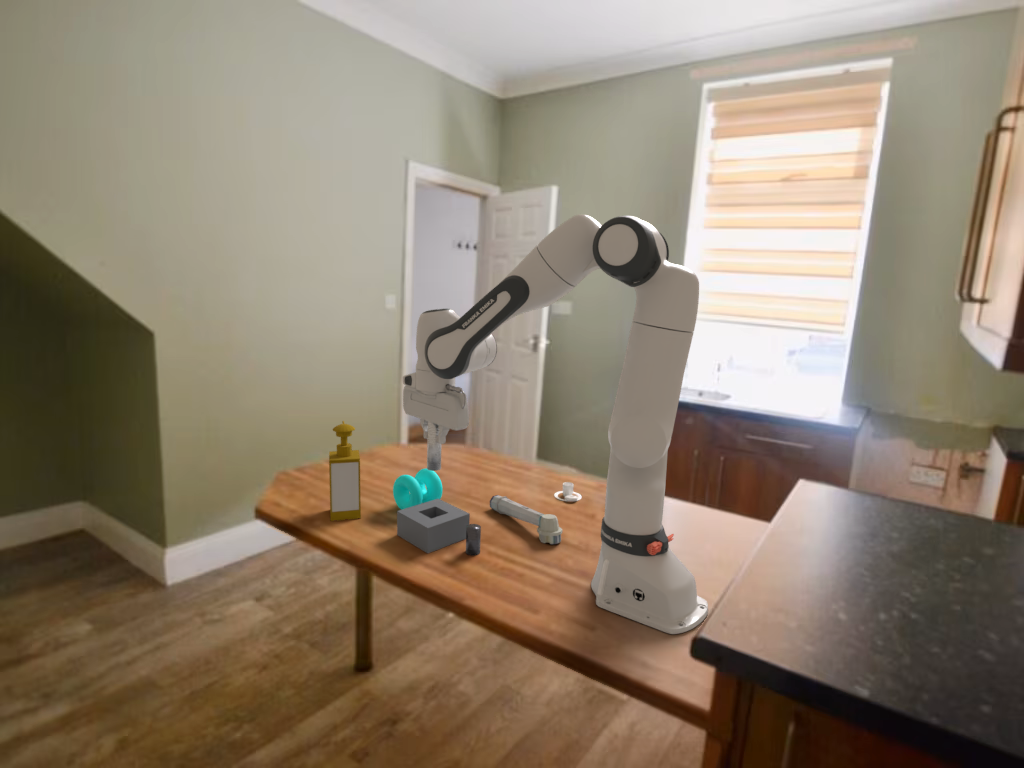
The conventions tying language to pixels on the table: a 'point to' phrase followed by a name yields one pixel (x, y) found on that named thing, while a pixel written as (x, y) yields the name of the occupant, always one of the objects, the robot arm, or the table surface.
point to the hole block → (432, 525)
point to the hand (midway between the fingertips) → (434, 440)
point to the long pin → (433, 448)
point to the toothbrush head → (529, 518)
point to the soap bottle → (344, 477)
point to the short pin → (473, 539)
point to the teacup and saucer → (568, 493)
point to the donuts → (417, 488)
